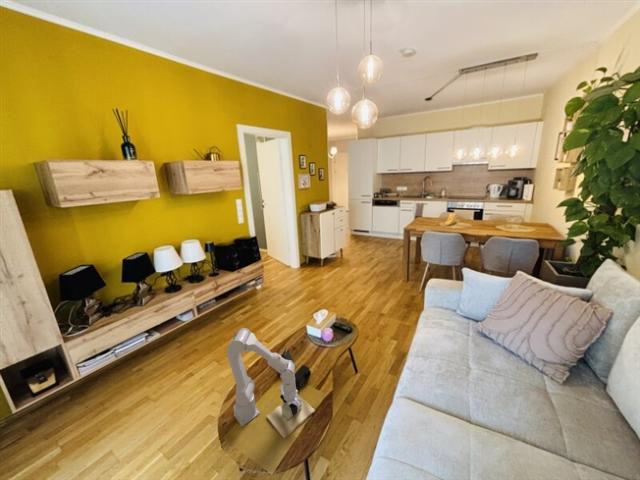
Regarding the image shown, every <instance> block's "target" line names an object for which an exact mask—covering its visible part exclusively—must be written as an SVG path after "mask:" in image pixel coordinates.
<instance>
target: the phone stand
mask: <svg viewBox="0 0 640 480" xmlns="http://www.w3.org/2000/svg"><path fill="white" fill-rule="evenodd" d="M290 351H291V350H290V349H289V348H287V347H286V348H285V349H284V350H283V352H282V353H281V354H280V355H281V357H282V358H284V359H286V360H291V361H293V362H294V360H293V357H292V355H291V352H290ZM294 363H295V362H294ZM296 367H297V366H296V365H295V368H296Z"/></svg>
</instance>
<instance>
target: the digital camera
mask: <svg viewBox="0 0 640 480" xmlns="http://www.w3.org/2000/svg"><path fill="white" fill-rule="evenodd" d="M311 374H312V371H311V370H310V367H309V366H307V365H303V364H302V365H301V366H300V367H299V369H298V370H297V371H296V373H294V375H295V384H296V389H297V390H298V392H300V391H301V390H302V389H303V387H304V386H305V385H306V383H307V382H308V380H309V379H310V377H311Z"/></svg>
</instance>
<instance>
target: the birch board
mask: <svg viewBox="0 0 640 480" xmlns="http://www.w3.org/2000/svg"><path fill="white" fill-rule="evenodd" d="M297 395H298V398H299V399H300V400H301V403H302V407H301V410H300V411H299V412H298V413H297V414H295V415H294V416H293V417H292V418H291V419H289V420H287V419H286V418H285V417H284V416H283V414H282V405H283V404H284V402H282V403H281V404H279V406H277V407H276V408H274V409H273V410H272V411H271V412H269V413H268V414H267V415H265V416H266V419H267V420H268V421H269V423H270V424H271V425H272V426H273V427H274V429H275V430H276V431H277V433H279V434H280V437H282V438H283V439H286V438H287V437H288V436H289V435H290V434H292V433H293V432H294V431H295V430H296V429H297V428H298V427H299V426H301V425H302V424H303V423H304V422H305V421H306V420H308V419H309V418H310V417H311V416H312V415H313V414H314V413H315V412H316V410H315V409H314V408H313V407H312V405H310V404H309V403H308V402H307V401H306V400H305V399H304V398H303V397H302V396H301V395H299V393H297ZM312 413H313V414H312ZM311 414H312V415H311ZM310 415H311V416H310ZM309 416H310V417H309ZM308 417H309V418H308Z"/></svg>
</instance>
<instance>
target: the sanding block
mask: <svg viewBox="0 0 640 480" xmlns="http://www.w3.org/2000/svg"><path fill="white" fill-rule="evenodd" d="M283 403H284V402H283ZM290 404H291V403H290V402H286V403H284V404H283V405H282V414H283V416H284V417H285V418H286V419H287V420H289V419H291V418H292V417H293V414H292V411H291V408H290V407H289V405H290ZM300 410H301V408H299V409H298V410H297V413H298V412H299V411H300ZM297 413H296V414H297Z"/></svg>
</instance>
